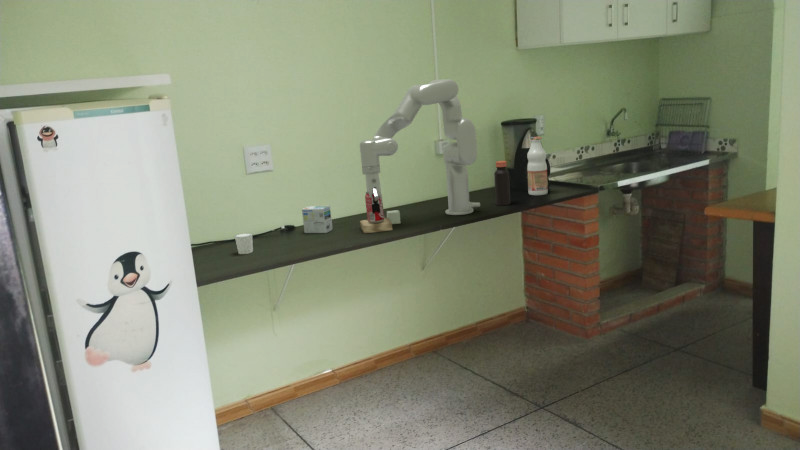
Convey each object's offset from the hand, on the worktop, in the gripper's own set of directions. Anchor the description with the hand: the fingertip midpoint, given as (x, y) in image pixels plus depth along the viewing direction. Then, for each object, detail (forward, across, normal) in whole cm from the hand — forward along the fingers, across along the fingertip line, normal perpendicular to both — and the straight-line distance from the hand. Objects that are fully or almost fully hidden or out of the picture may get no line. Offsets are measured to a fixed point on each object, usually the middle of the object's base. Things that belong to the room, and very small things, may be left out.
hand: (375, 211), depth 289 cm
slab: (+8, 0, 0) cm, 8 cm away
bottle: (+8, +20, -63) cm, 66 cm away
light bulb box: (+8, +8, +24) cm, 27 cm away
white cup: (+8, -14, +54) cm, 56 cm away
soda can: (+5, 0, 0) cm, 5 cm away
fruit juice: (+8, +35, -86) cm, 93 cm away
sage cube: (+8, +8, -9) cm, 14 cm away
